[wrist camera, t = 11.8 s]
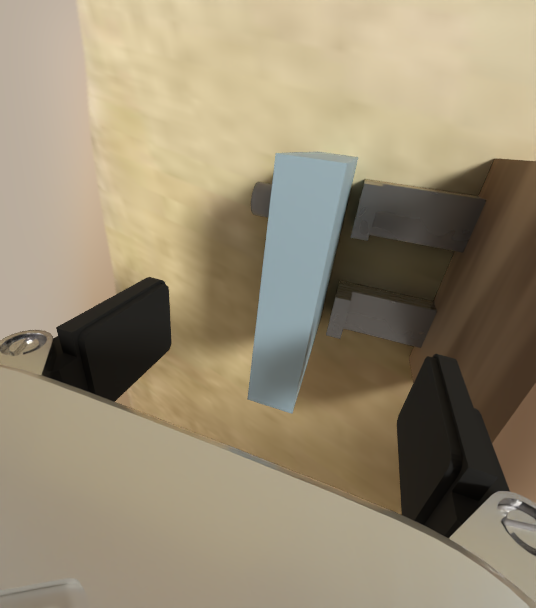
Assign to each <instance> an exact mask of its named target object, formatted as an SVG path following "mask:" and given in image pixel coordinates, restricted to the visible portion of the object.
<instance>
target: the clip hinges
mask: <svg viewBox="0 0 536 608" xmlns="http://www.w3.org/2000/svg"><path fill="white" fill-rule="evenodd" d="M485 203H486V199H484V198H481V197H479V196H474V195H467V194H460V193H454V192H447V191H441V190H434V189H428V188H421V187H415V186H408V185H401V184H395V183H388V182H382V181H375V180H369V179H365V182H364V186H363V190H362V194H361V198H360V201H359V205H358V209H357V213H356V217H355V221H354V225H353V229H352V234H351V238H356V239H361V240H366V241H368V238H369V235H372V236H378V237H383V238H388V239H394V240H399V241H404V242H409V243H415V244H420V245H425V246H431V247H436V248H441V249H447V250H452V251H457V252H462V253H463V252H464V250H465V248H466V245H467V243H468V241H469V239H470V236H471V234H472V232H473V230H474V227H475V225H476V223H477V221H478V218H479V216H480V214H481V212H482V209H483V207H484V205H485ZM436 313H437V309H436V307H435V304H434V302H433V301H429V300H425V299H420V298H416V297H411V296H407V295H402V294H398V293H393V292H389V291H385V290H380V289H376V288H371V287H367V286H362V285H358V284H353V283H349V282H344V281H339V285H338V289H337V293H336V297H335V301H334V305H333V309H332V313H331V317H330V321H329V325H328V329H327V333H326V335H327V336H331V337H335V338H339V339H340V338H341V335H342V331H343V328H344V329H348V330H352V331H355V332H359V333H363V334H367V335H371V336H375V337H379V338H383V339H387V340H391V341H395V342H399V343H403V344H407V345H411V346H415V347H418V348H421V347H422V344H423V342H424V340H425V338H426V335H427V333H428V331H429V329H430V326H431V324H432V322H433V320H434V317H435V315H436Z"/></svg>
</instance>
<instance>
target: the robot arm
mask: <svg viewBox="0 0 536 608" xmlns="http://www.w3.org/2000/svg"><path fill="white" fill-rule="evenodd" d="M56 329H57V332H58V336H57V337H55V338H54V339H53V336H52V335H51V334H50V333H48V332H46V331H41V330H28V331H22V332H19V333H15V334H12V335H10V336H7V337H5V338H3V339H2V340H0V608H536V503H534V502H533V501H531V500H529V499H527V498H525V497H523V496H521V495H519V494H516V493H513V492H510V490H509V487H508V485H507V482H506V479H505V477H504V474H503V471H502V469H501V466H500V463H499V461H498V458H497V455H496V453H495V450H494V447H493V445H492V442H491V439H490V437H489V434H488V431H487V429H486V426H485V423H484V421H483V418H482V415H481V413H480V412H479V410H477V409H476V408H474V407H473V404H472V401H471V399H470V396H469V393H468V390H467V387H466V385H465V382H464V379H463V376H462V373H461V371H460V368H459V365H458V362H457V360H456V359H454V358H451V357H447V356H443V355H439V354H434V355H433V357H429V356H427V357H426V358H425V360H424V362H423V364H422V366H421V369H420V371H419V373H418V375H417V377H416V379H415V381H414V384H413V386H412V388H411V390H410V392H409V394H408V396H407V399H406V401H405V403H404V405H403V407H402V409H401V412H400V414H399V416H398V420H397V436H398V454H399V472H400V490H401V508H402V515H400V514H398V513H396V512H394V511H391V510H389V509H387V508H384V507H382V506H379V505H377V504H374V503H372V502H369V501H367V500H365V499H362V498H360V497H357V496H355V495H352V494H350V493H348V492H345V491H343V490H340V489H338V488H335V487H333V486H330V485H328V484H325V483H323V482H320V481H318V480H315V479H313V478H310V477H308V476H305V475H302V474H300V473H297V472H295V471H292V470H290V469H287V468H285V467H282V466H280V465H277V464H274V463H272V462H269V461H267V460H264V459H262V458H259V457H257V456H254V455H251V454H249V453H246V452H244V451H241V450H239V449H236V448H234V447H231V446H228V445H226V444H223V443H221V442H218V441H215V440H213V439H210V438H208V437H205V436H202V435H200V434H197V433H195V432H192V431H190V430H187V429H184V428H182V427H179V426H177V425H174V424H171V423H169V422H166V421H164V420H161V419H158V418H156V417H153V416H151V415H148V414H145V413H143V412H140V411H137V410H135V409H132V408H129V407H127V406H124V405H121V404H118V403H116V402H115V401H116V400H117V399H118V398H119V397H120V396H121V395H122V394H123V393H124V392H125V391H126V390H127V389H128V388H129V387H130V386H132V385H133V384H134V383H135V382H136V381H137V380H138V379H139V378H140V377H141V376H142V375H143V374H144V373H145V372H146V371H147V370H148V369H149V368H151V367H152V366H153V365H154V364H155V363H156V362H157V361H158V360H159V359H160V358H161V357H162V356H163V355H164V354H165V353H166V352H167V351H168V350H169V349H170V346H171V326H170V305H169V288H168V286H167V285H166V284H165V282H164V281H163V280H159V279H155V278H151V277H148V278H146V279H144V280H142V281H140V282H138V283H136V284H135V285H133V286H131V287H129V288H127V289H126V290H124V291H122V292H120V293H118V294H116V295H115V296H113V297H111V298H109V299H107V300H106V301H104V302H102V303H100V304H98V305H96V306H95V307H93V308H91V309H89V310H88V311H85V312H84V313H82V314H80V315H78V316H77V317H75V318H73V319H71V320H69V321H67V322H65V323H64V324H62V325H60V326H58V327H57V328H56Z"/></svg>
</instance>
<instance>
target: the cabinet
mask: <svg viewBox="0 0 536 608" xmlns="http://www.w3.org/2000/svg"><path fill="white" fill-rule="evenodd" d="M479 197H481V198H484V199H486V203H485V205H484V207H483V209H482V212H481V214H480V216H479V218H478V221H477V223H476V225H475V227H474V230H473V232H472V234H471V236H470V239H469V241H468V243H467V245H466V248H465V250H464V252H463V253H462V252H457V251H455V252H454V254H453V257H452V259H451V261H450V264H449V266H448V268H447V271H446V273H445V275H444V278H443V280H442V282H441V285H440V287H439V289H438V292H437V294H436V296H435V299H434V301H433V302H434V304H435V307H436V309H437V313H436V315H435V317H434V320H433V322H432V324H431V326H430V329H429V331H428V333H427V335H426V338H425V340H424V342H423V344H422V347H421V348H418V347H415V346H414V348H413V350H412V352H411V355H410V357H409V361H410V367H411V372H412V378H413V383H414V381H415V379H416V377H417V375H418V373H419V371H420V369H421V366H422V364H423V362H424V360H425V358H426V357H427V356H429V357H433V355H434V354H439V355H443V356H447V357H451V358H454V359H456V360H457V362H458V365H459V368H460V371H461V373H462V376H463V379H464V382H465V385H466V387H467V390H468V393H469V396H470V399H471V401H472V404H473V407H474V408H476V409H477V410H479V412H480V413H481V415H482V418H483V421H484V423H485V426H486V429H487V431H488V434H489V437H490V439H491V442H492V445H493V447H494V450H495V453H496V455H497V458H498V461H499V463H500V466H501V469H502V471H503V474H504V477H505V479H506V482H507V485H508V487H509V490H510V492H513V493H516V494H519V495H521V496H523V497H525V498H527V499H529V500H531V501H533V502H534V503H536V161H523V160H509V159H494V161H493V163H492V166H491V168H490V170H489V173H488V175H487V177H486V180H485V182H484V184H483V187H482V189H481V191H480V194H479Z"/></svg>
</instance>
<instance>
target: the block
mask: <svg viewBox="0 0 536 608" xmlns="http://www.w3.org/2000/svg"><path fill="white" fill-rule="evenodd" d="M357 160H358V157H353V156H346V155H339V154H331V153H324V152H295V153H276V156H275V165H274V173H273V182H272V184H268V183H262V182H257V183H256V185H255V186H254V189H253V193H252V198H251V211H252V214H253V215H258V216H263V217H268V225H267V234H266V243H265V252H264V260H263V269H262V278H261V286H260V295H259V304H258V312H257V321H256V330H255V339H254V347H253V356H252V365H251V373H250V382H249V391H248V400H251V401H254V402H257V403H261V404H264V405H267V406H270V407H273V408H276V409H279V410H282V411H286V412H289V413H293V410H294V406H295V403H296V400H297V396H298V393H299V390H300V386H301V383H302V380H303V376H304V373H305V370H306V366H307V363H308V360H309V356H310V353H311V350H312V346H313V343H314V340H315V336H316V333H317V330H318V326H319V323H320V319H321V315H322V311H323V306H324V302H325V298H326V293H327V289H328V285H329V280H330V276H331V272H332V268H333V263H334V259H335V255H336V250H337V246H338V242H339V238H340V233H341V229H342V225H343V220H344V216H345V212H346V208H347V203H348V199H349V195H350V190H351V186H352V182H353V178H354V173H355V169H356V165H357Z"/></svg>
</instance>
